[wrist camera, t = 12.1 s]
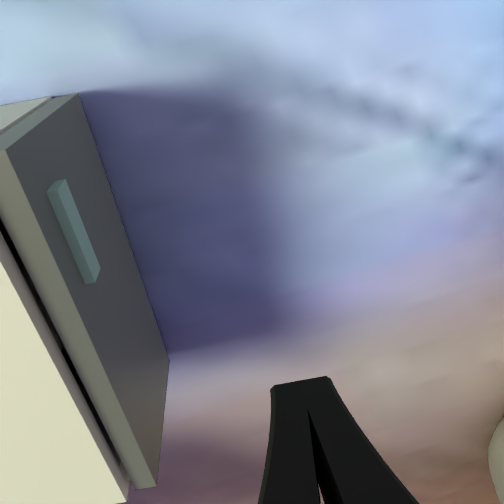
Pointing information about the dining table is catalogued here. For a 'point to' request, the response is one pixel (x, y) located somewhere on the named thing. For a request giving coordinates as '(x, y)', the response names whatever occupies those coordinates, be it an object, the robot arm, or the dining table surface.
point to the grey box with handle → (86, 276)
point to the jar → (497, 459)
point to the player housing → (45, 399)
